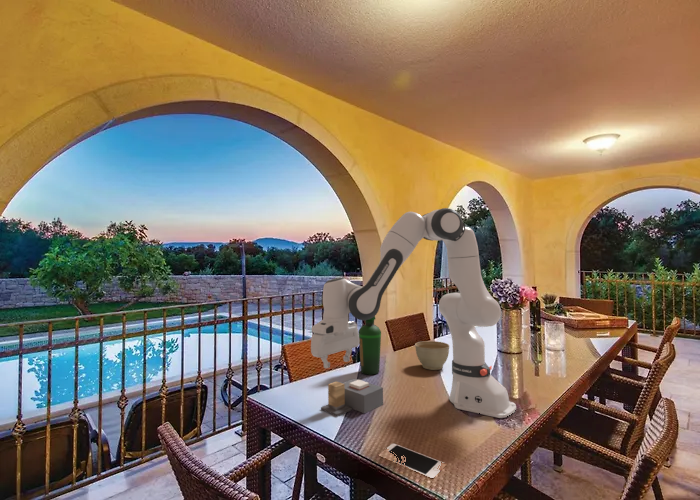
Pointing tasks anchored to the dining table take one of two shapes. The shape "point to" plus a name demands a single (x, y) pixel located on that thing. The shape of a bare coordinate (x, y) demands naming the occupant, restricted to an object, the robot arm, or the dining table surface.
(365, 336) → the bottle
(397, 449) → the cell phone
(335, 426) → the dining table surface
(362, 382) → the button
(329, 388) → the tan wooden block
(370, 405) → the block
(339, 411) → the mat
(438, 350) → the planter bowl
